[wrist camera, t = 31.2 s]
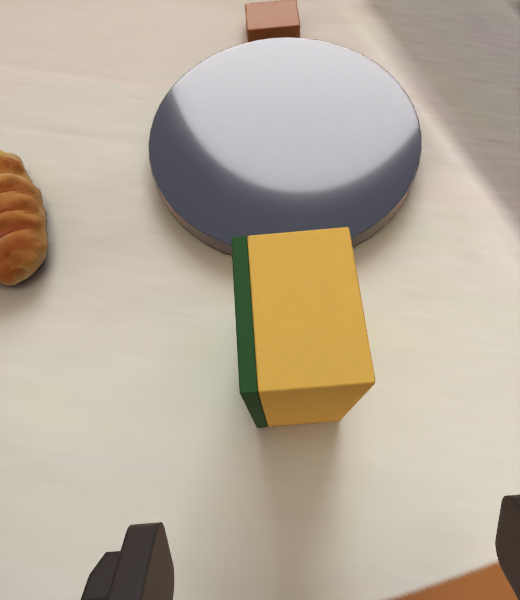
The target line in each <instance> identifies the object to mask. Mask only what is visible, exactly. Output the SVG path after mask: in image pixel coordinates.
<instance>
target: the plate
mask: <svg viewBox="0 0 520 600" xmlns="http://www.w3.org/2000/svg"><path fill="white" fill-rule="evenodd" d="M420 155H421V131H420V125H419V120H418V117H417V114H416V112H415V109H414V106H413V104H412V103H411V101H410V99H409V97H408V95H407V94H406V92H405V91H404V90H403V88H402V87H401V86H400V84H399V83H398V82H397V81H396V80H395V79H394V78H393V77H392V76H391V75H390V74H389V73H388V72H387V71H386V70H384V69H383V68H382V67H381V66H379V65H378V64H377V63H375V62H374V61H372V60H370V59H369V58H367V57H365V56H364V55H362V54H360V53H357V52H355V51H353V50H351V49H349V48H346V47H343V46H340V45H337V44H334V43H330V42H325V41H321V40H315V39H308V38H294V37H283V38H269V39H262V40H255V41H251V42H247V43H243V44H239V45H236V46H233V47H231V48H228V49H225V50H223V51H221V52H219V53H216V54H214V55H212V56H210V57H209V58H207V59H205V60H203V61H202V62H200V63H199V64H197V65H196V66H194V67H193V68H192V69H190V70H189V71H188V72H187V73H185V74H184V75H183V76H182V77H181V78H180V79H179V80H178V81H177V82H176V83H175V84H174V86H173V87H172V88H171V89H170V90H169V92H168V93H167V94H166V96H165V97H164V99H163V101H162V102H161V104H160V106H159V108H158V110H157V112H156V115H155V117H154V120H153V123H152V127H151V131H150V138H149V160H150V165H151V169H152V173H153V176H154V179H155V181H156V184H157V186H158V188H159V191H160V193H161V195H162V198H163V200H164V202H165V203H166V205H167V207H168V208H169V210H170V212H171V213H172V214H173V215H174V217H175V218H176V219H177V220H178V221H179V223H180V224H181V225H182V226H183V227H185V228H186V229H187V230H188V231H189V232H190V233H191V234H192V235H194V236H195V237H197V238H198V239H200V240H201V241H203V242H204V243H206V244H207V245H209V246H211V247H213V248H215V249H217V250H219V251H222V252H224V253H227V254H230V255H232V242H231V239H232V237H238V236H246V237H248V236H252V235H263V234H274V233H286V232H297V231H308V230H320V229H331V228H342V227H348V228H349V230H350V236H351V242H352V247H354V246H356V245H357V244H359V243H361V242H363V241H365V240H366V239H368V238H369V237H370V236H372V235H373V234H374V233H376V232H377V231H378V230H380V229H381V228H382V227H383V226H384V225H385V224H386V223H387V222H388V221H389V220H390V219H391V218H392V217H393V215H394V214H395V213H396V211H397V210H398V209H399V207H400V206H401V205H402V203H403V201H404V199H405V197H406V195H407V193H408V191H409V189H410V187H411V184H412V182H413V180H414V177H415V174H416V171H417V168H418V165H419V161H420Z"/></svg>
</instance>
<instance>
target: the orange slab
mask: <svg viewBox="0 0 520 600" xmlns="http://www.w3.org/2000/svg"><path fill="white" fill-rule="evenodd" d="M245 12H246V24H247V36H248V42H251V41H255V40H262V39H269V38H283V37H294V38H300V21H299V15H298V8H297V1H296V0H280V1H270V2H259V3H249V4H245Z"/></svg>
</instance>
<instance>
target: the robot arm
mask: <svg viewBox="0 0 520 600" xmlns="http://www.w3.org/2000/svg"><path fill="white" fill-rule="evenodd" d="M495 545H496V552H497V557H498V560H499V563H500V566H501V568H502V570H503V572H504V574H505V576H506V578H507V579H508V581H509V583H510V585H511V586H512V589H513V590H514V592H515V594H516V596H517V598H518V599H519V600H520V495H510V496H504V497H503V499H502V503H501V509H500V515H499V522H498V528H497V534H496V541H495ZM173 593H174V567H173V562H172V558H171V553H170V549H169V545H168V541H167V537H166V532H165V528H164V525H163V523H161V522H160V523H147V524H135V525H130V526H129V527H128V529H127V532H126V535H125V538H124V541H123V545H122V548H121V551H116V552H106V553H105V554H104V556H103V557H102V558H101V560H100V561H99V562H98V564H97V565H96V567H95V568H94V569H93V571H92V572H91V573H90V575H89V578H88V580H87V583H86V586H85V589H84V592H83V595H82V597H81V600H173Z"/></svg>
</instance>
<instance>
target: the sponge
mask: <svg viewBox="0 0 520 600" xmlns="http://www.w3.org/2000/svg"><path fill="white" fill-rule="evenodd" d="M231 242H232V260H233V278H234V296H235V315H236V333H237V351H238V370H239V388H240V394H241V396H242V398H243V400H244V402H245V404H246V406H247V408H248V410H249V412H250V414H251V416H252V418H253V420H254V422H255V424H256V426H257V427H267V426H269V427H270V426H283V425H295V424H308V423H320V422H333V421H340V420H341V419H342V418H343V417H344V416H345V415H346V413H347V412H348V411H349V410H350V409H351V408H352V407H353V406H354V405H355V404H356V403H357V402H358V401H359V400H360V399H361V397H362V396H363V395H364V394H365V393H366V392H367V391H368V390H369V389H370V388H371V387H372V386H373V385H374V384H375V376H374V370H373V364H372V359H371V353H370V347H369V341H368V335H367V329H366V324H365V318H364V312H363V306H362V300H361V294H360V288H359V283H358V277H357V271H356V265H355V259H354V253H353V248H352V242H351V236H350V230H349V228H348V227H342V228H331V229H320V230H308V231H297V232H286V233H274V234H263V235H252V236H248V237H246V236H238V237H232V239H231Z"/></svg>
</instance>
